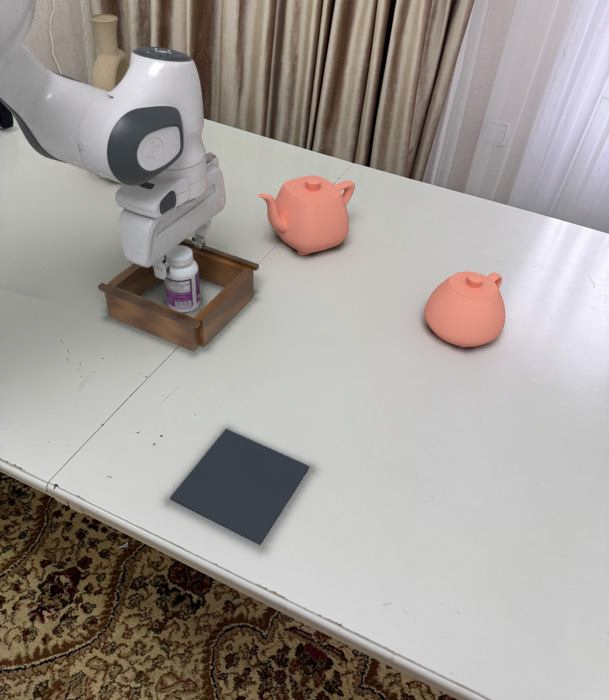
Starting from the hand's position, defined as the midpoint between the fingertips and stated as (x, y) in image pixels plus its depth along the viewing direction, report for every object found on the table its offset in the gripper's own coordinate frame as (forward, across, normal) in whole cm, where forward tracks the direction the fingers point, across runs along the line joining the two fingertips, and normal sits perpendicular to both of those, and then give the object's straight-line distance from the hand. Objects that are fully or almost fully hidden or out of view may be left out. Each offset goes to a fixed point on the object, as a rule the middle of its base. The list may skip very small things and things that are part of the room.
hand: (181, 260), depth 93 cm
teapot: (+9, -27, +8) cm, 29 cm away
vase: (+8, -29, -35) cm, 46 cm away
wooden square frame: (+8, 0, 0) cm, 8 cm away
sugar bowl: (+9, -18, +41) cm, 45 cm away
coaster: (+8, +25, +26) cm, 37 cm away
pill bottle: (+8, 0, 0) cm, 8 cm away
